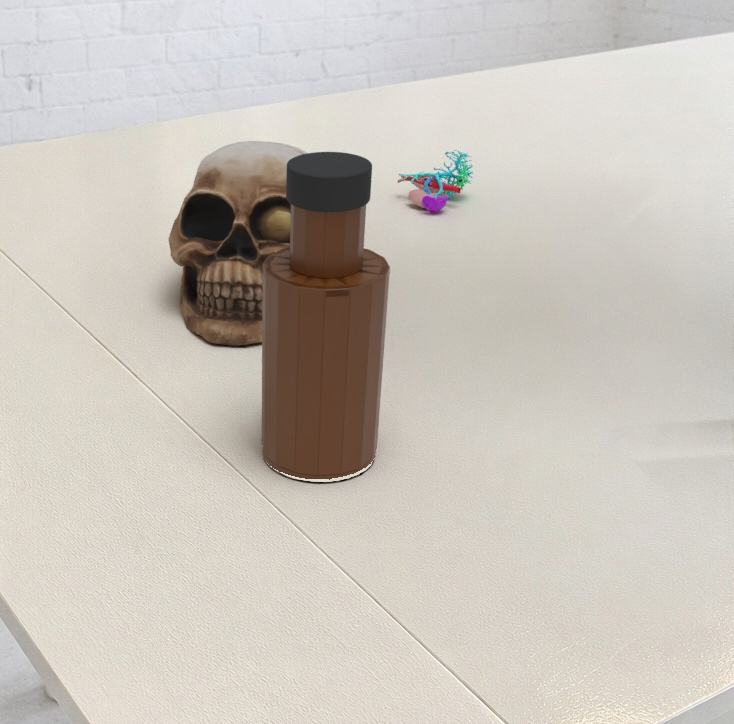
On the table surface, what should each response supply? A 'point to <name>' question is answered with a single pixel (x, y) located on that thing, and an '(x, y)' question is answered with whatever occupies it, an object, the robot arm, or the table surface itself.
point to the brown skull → (231, 238)
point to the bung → (328, 181)
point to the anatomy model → (438, 184)
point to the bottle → (323, 347)
